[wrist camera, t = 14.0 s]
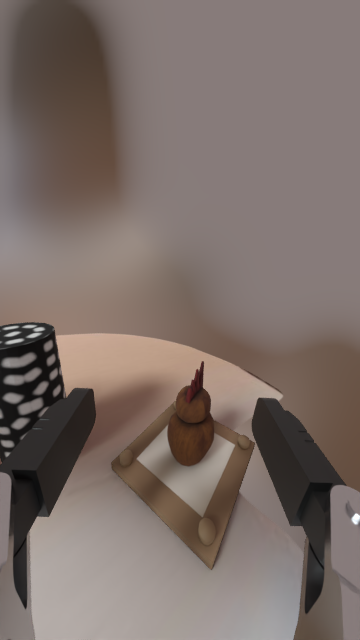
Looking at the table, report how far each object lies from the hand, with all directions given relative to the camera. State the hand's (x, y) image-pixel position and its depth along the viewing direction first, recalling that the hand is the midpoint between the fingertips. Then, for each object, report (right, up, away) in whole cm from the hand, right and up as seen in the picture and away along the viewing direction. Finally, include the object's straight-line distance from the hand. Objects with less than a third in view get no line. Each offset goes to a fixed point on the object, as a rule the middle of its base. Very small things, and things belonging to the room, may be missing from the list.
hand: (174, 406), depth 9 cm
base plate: (+1, -17, +20) cm, 27 cm away
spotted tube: (-21, -17, +20) cm, 33 cm away
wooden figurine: (+2, -16, +20) cm, 26 cm away
